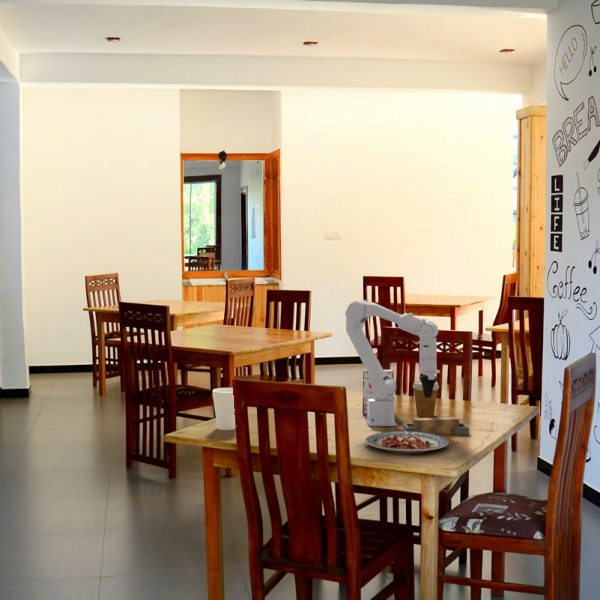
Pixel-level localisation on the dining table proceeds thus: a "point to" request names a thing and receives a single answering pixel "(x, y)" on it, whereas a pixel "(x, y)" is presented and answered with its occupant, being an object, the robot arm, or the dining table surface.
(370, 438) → the ceramic plate
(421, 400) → the disposable coffee cup
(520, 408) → the dining table surface
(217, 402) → the foam cup
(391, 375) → the candy bar box
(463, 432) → the end cap
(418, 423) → the slat
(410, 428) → the end cap
